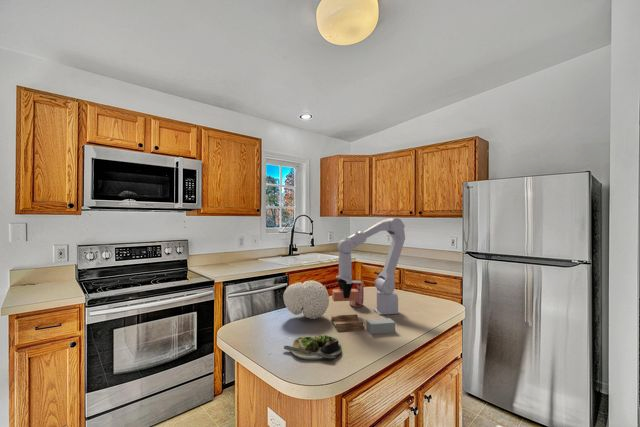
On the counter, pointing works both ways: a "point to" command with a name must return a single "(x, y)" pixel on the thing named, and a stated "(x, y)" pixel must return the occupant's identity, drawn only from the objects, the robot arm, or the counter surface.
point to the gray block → (380, 326)
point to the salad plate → (316, 347)
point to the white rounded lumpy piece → (307, 299)
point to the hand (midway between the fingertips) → (345, 296)
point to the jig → (347, 323)
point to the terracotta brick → (339, 296)
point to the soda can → (359, 287)
